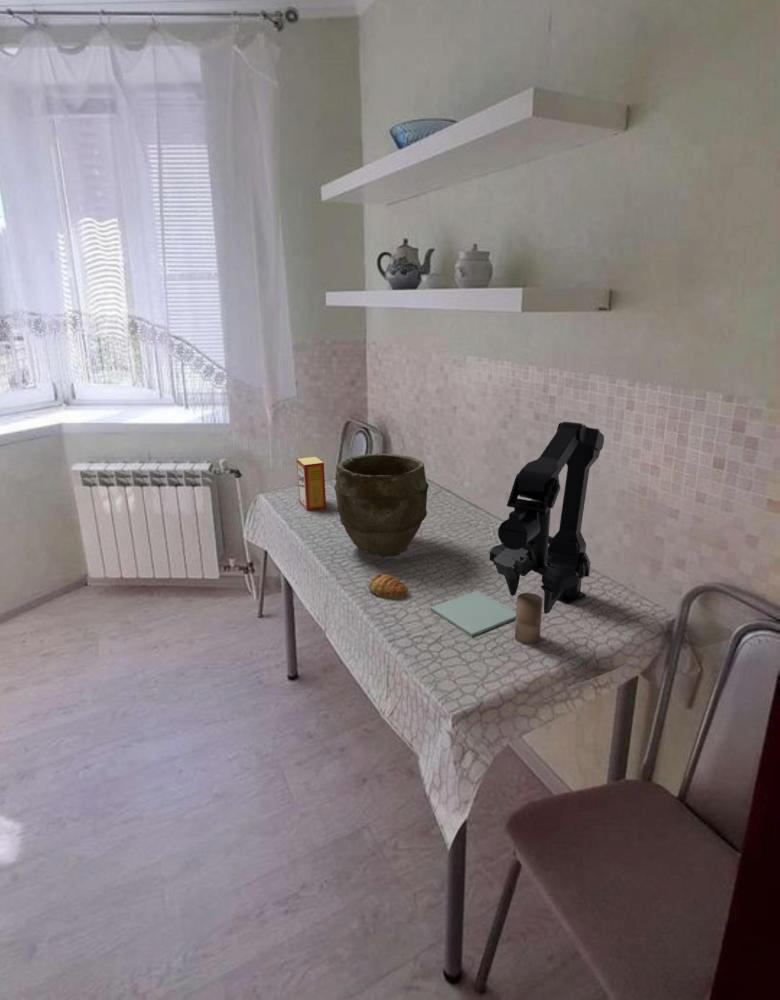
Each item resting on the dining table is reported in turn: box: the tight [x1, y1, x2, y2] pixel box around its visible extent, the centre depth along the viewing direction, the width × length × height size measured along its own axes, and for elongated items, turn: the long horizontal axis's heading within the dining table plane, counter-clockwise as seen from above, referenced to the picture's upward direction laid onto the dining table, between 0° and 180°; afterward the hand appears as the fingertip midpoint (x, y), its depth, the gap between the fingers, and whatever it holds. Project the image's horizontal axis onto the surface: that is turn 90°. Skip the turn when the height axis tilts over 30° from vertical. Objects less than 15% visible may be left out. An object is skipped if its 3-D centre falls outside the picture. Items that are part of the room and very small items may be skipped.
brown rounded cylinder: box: [514, 592, 543, 645], centre depth 125 cm, size 5×5×9 cm
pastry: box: [368, 573, 408, 600], centre depth 147 cm, size 9×7×4 cm
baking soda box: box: [296, 455, 327, 512], centre depth 206 cm, size 10×6×16 cm
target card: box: [429, 590, 516, 637], centre depth 137 cm, size 14×14×1 cm
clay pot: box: [333, 452, 430, 558], centre depth 169 cm, size 25×25×25 cm
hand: (529, 603), depth 124 cm, fingers open, 9 cm apart
